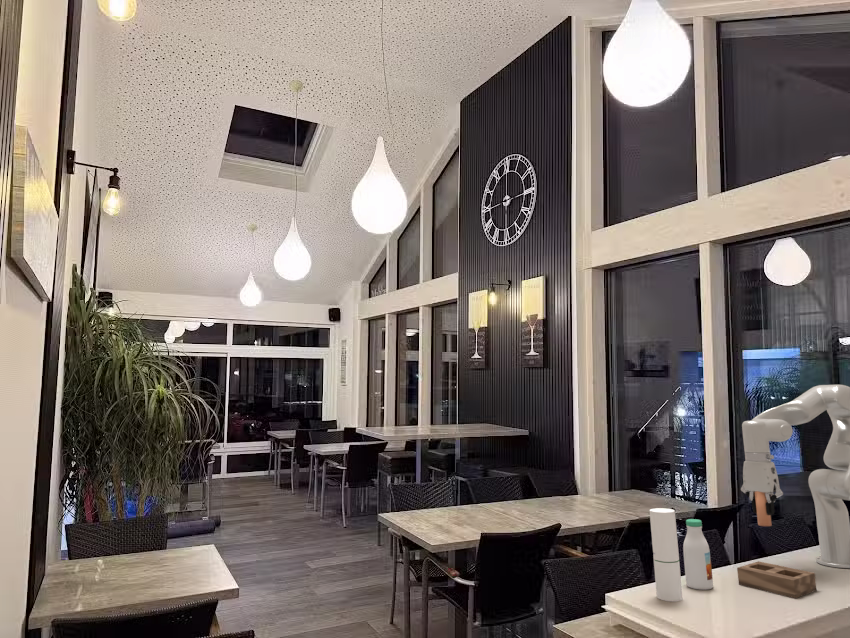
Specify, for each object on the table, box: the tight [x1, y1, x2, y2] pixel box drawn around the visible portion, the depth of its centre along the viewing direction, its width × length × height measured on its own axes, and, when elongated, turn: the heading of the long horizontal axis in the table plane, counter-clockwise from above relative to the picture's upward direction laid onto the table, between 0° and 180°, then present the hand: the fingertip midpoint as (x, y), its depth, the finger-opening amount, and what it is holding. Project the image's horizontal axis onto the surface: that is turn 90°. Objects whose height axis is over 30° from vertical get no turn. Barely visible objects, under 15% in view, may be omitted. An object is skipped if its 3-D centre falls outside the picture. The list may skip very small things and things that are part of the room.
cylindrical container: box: [649, 507, 683, 602], centre depth 180 cm, size 7×7×25 cm
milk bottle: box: [682, 518, 714, 591], centre depth 189 cm, size 8×8×20 cm
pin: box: [755, 491, 772, 527], centre depth 201 cm, size 4×4×12 cm
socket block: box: [736, 560, 817, 599], centre depth 184 cm, size 12×17×5 cm
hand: (763, 513), depth 200 cm, fingers closed on pin, 4 cm apart
